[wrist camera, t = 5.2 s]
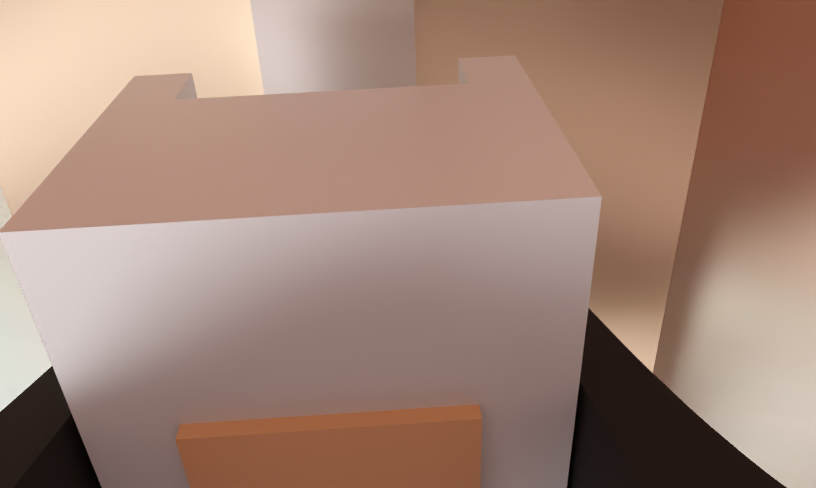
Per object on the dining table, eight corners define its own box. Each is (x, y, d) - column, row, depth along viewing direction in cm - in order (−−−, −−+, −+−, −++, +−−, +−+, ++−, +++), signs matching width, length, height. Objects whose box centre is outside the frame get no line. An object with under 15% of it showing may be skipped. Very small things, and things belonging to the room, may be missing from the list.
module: (499, 430, 13) (550, 664, 9) (227, 448, 13) (175, 693, 9) (514, 55, 9) (609, 208, 6) (134, 76, 9) (-15, 245, 6)
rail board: (607, 507, 20) (672, 698, 16) (161, 534, 20) (101, 736, 16) (748, -322, 10) (1022, -418, 6) (-130, -284, 10) (-509, -355, 6)
